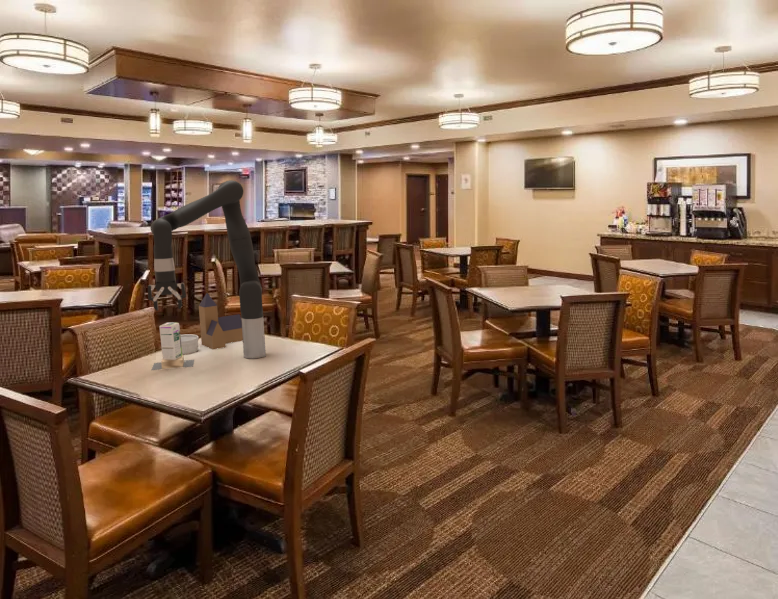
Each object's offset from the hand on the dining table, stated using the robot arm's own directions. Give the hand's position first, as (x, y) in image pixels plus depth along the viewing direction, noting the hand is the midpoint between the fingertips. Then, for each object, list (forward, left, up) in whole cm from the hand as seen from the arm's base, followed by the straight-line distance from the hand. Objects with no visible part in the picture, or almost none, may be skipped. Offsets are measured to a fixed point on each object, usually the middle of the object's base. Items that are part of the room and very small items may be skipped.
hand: (168, 309), depth 239 cm
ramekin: (-3, -23, -24) cm, 34 cm away
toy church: (-21, -34, -24) cm, 47 cm away
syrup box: (0, 0, -21) cm, 21 cm away
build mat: (0, -1, -24) cm, 24 cm away
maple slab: (0, 0, -23) cm, 23 cm away
